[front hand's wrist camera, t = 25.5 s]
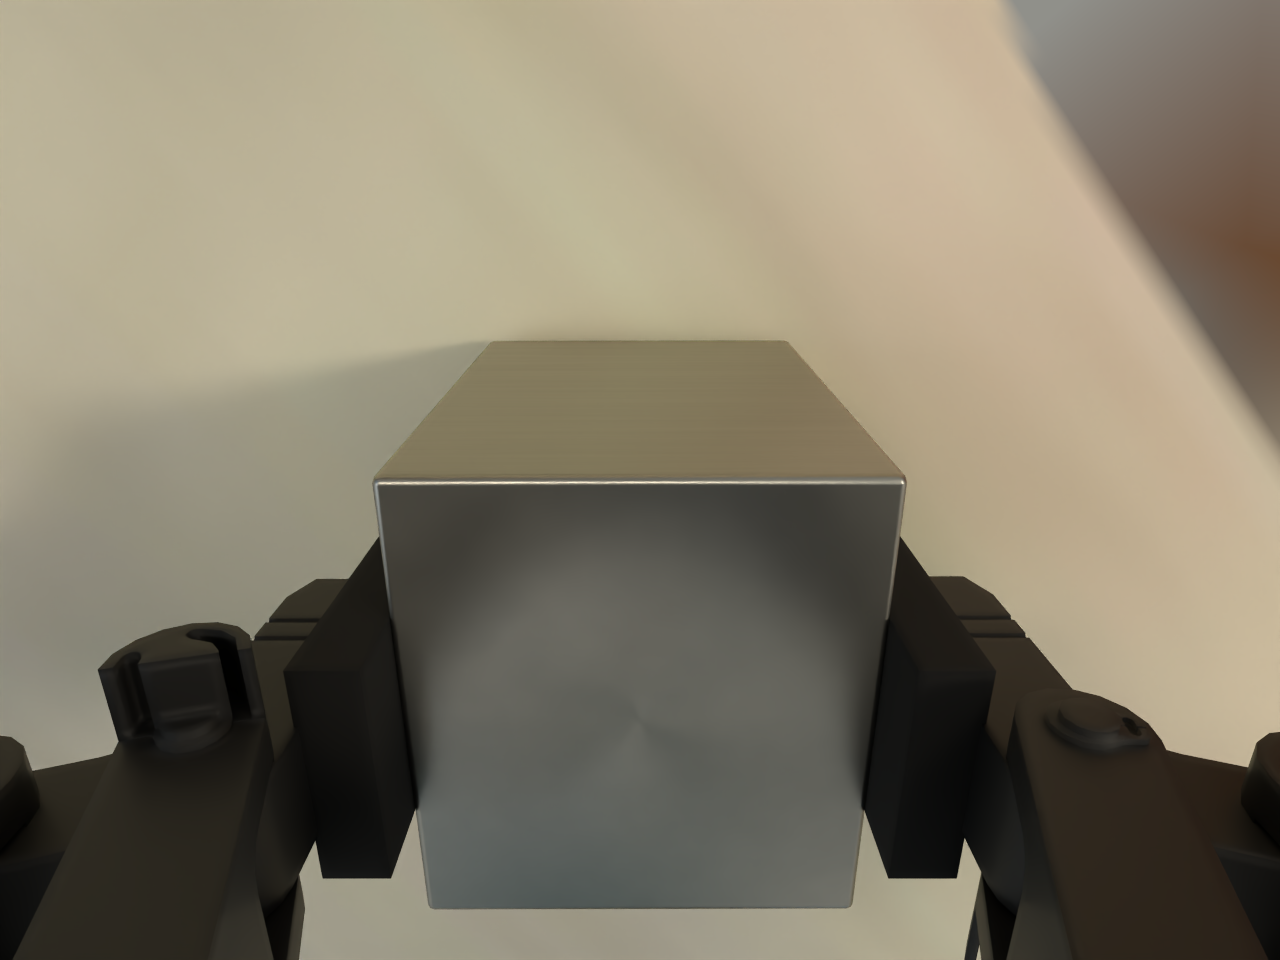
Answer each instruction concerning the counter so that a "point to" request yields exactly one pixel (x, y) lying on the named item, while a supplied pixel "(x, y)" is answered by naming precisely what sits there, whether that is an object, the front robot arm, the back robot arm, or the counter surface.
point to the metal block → (639, 626)
